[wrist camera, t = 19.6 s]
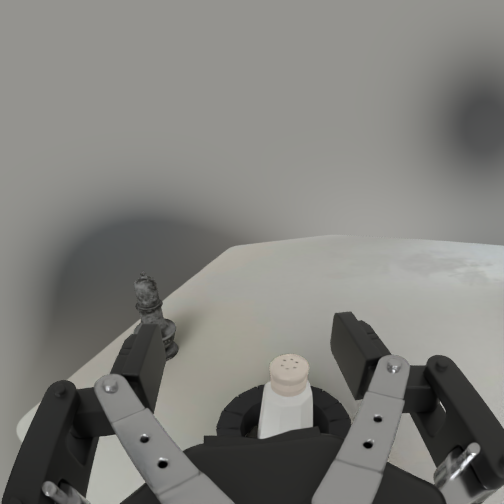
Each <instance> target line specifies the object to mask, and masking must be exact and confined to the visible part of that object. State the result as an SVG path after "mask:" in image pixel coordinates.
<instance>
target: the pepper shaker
mask: <svg viewBox="0 0 504 504" xmlns="http://www.w3.org/2000/svg"><path fill="white" fill-rule="evenodd" d="M309 368H310V366H309V363H308V362H307V360H306V359H304V358H303V357H301V356H299V355H295V354H284V355H280V356H278V357H276V358H275V359H273V360H272V361H271V363H270V365H269V370H270V381H269V382H268V383H266V384H265V386H264V391H263V398H262V405H261V412H260V419H259V426H258V433H257V439H265V438H268V437H271V436H275V435H278V434H281V433H284V432H287V431H290V430H295V429H302V428H309V427H313V396H312V391H311V387H310V383H309V381H307V378H308V373H309Z"/></svg>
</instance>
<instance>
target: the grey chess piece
mask: <svg viewBox="0 0 504 504" xmlns="http://www.w3.org/2000/svg"><path fill="white" fill-rule="evenodd" d="M145 274H146V273H145V272H144V271H142V272H141V275H142V276H141V277H140V278H139V279H137V280H136V281H135V284H134V287H135V292H136V297H137V302H138V303H137V304H136V309H137V310H139V313H140V317H141V323H140V324H139V325H138V326H137V327H136V328H135V329H134V334H138V331H139V329H140V327H141V325H142V324H143V323H158V324H159V326H160V330H161V334H162V339H163V343H164V348H165V353H166V361H167V360H169V359H171V358H173V357H174V356H175V355H176V354H177V352H178V346H177V344H176V343H175V342H173V340H174V336H175V331H176V325H175V323H174V322H172V321H171V320H169V319H165V318H164V317H163V314H162V309H161V306H162V305H163V302H162V301H161V300H160V299H159V296H158V291H157V285H156V282H155V280H154V279H153V278H151V277H148V276H145Z"/></svg>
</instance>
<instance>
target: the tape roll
mask: <svg viewBox="0 0 504 504" xmlns="http://www.w3.org/2000/svg"><path fill="white" fill-rule="evenodd" d="M264 386H265V385H259V386H258V388H257V387H254V388H252V389H250V390H248V391H246V392H244V393H242V394H240V395H238V396H239V397H237V396H236V397H235V398H234V399H233V400H232V401H231V402H230V403H229V404H228V405H227V406H226V407H225V408H224V411H222V413H221V416H220V419H219V421H218V424H217V429H216V431H217V436H222V435H235V436H242V437H245V436H246V435H247V434H248V432H249V431H250V430H251V429H252V428H253V427H254V426H256V425H258V424H259V419H260V412H261V405H262V398H263V391H264ZM310 387H311V391H312V396H313V427H315V426H318V427H319V430H320V433H323V434H331V435H336V436H339V437H342V438H346V436H347V434H348V432H349V430H350V428H351V419H349V418H350V417H349V415H348V414H347V412H346V410H345V409H344V407H343V406H342V404H341V403H339V401H338V400H337V399H335V398H334V397H333V396H331V395H330V394H328V393H327V392H325V391H322V389H319V388H316V387H313V386H310Z"/></svg>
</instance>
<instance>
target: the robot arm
mask: <svg viewBox="0 0 504 504" xmlns="http://www.w3.org/2000/svg"><path fill="white" fill-rule="evenodd" d="M330 344H331V351H332V354H333V356H334V358H335V360H336V362H337V364H338V366H339V368H340V370H341V372H342V374H343V376H344V378H345V380H346V382H347V384H348V386H349V389H350V391H351V393H352V395H353V397H354V399H355V400H360V399H363V401H362V403H361V405H360V408H359V410H358V412H357V414H356V417H355V419H354V421H353V423H352V426H351V428H350V430H349V432H348V434H347V436H346V438H342V437H339V436H336V435H331V434H323V433H320V430H319V427H318V426H315V427H309V428H302V429H295V430H290V431H287V432H284V433H281V434H278V435H275V436H271V437H268V438H265V439H257V438H249V437H242V436H235V435H222V436H204V443H203V444H199V445H196V446H193V447H190V448H188V449H186V450H184V451H182V450H181V449H180V448H179V447H178V446H177V444H176V443H175V442H174V441H173V440H172V438H171V437H170V436H169V435H168V433H167V432H166V431H165V430H164V428H163V427H162V426H161V424H160V423H159V422H158V420H157V419H156V418H155V416H154V415H153V414H154V410H155V405H156V401H157V396H158V392H159V388H160V383H161V379H162V375H163V371H164V367H165V362H166V353H165V348H164V343H163V339H162V334H161V330H160V326H159V324H158V323H143V324H142V325H141V327H140V329H139V331H138V334H131V335H130V336H129V337H128V338H127V339H126V340H125V341H124V343H123V345H122V349H121V350H120V352H119V355H118V356H117V358H116V361H115V363H114V365H113V367H112V370H111V372H110V374H108V375H105V376H103V377H101V378H100V379H98V380H97V381H96V383H95V385H94V387H92V388H85V389H76V387H75V385H74V384H73V383H72V382H70V381H67V380H61V381H57V382H55V383H53V384H52V385H51V386H50V387H49V388H48V389H47V392H46V393H45V395H44V397H43V399H42V401H41V403H40V405H39V407H38V410H37V412H36V414H35V416H34V418H33V420H32V422H31V425H30V427H29V429H28V431H27V434H26V436H25V438H24V441H23V443H22V445H21V448H20V450H19V453H18V455H17V458H16V460H15V463H14V466H13V468H12V471H11V474H10V477H9V480H8V483H7V485H6V488H5V492H4V495H3V498H2V504H91V503H90V502H89V501H88V500H87V499H86V493H87V488H88V483H89V478H90V474H91V469H92V465H93V460H94V456H95V452H96V448H97V444H98V440H99V437H100V436H108V435H115V434H116V435H117V437H118V439H119V440H120V442H121V444H122V446H123V447H124V449H125V451H126V452H127V454H128V456H129V457H130V459H131V461H132V462H133V464H134V465H135V467H136V468H137V470H138V471H139V473H140V474H141V476H142V477H143V479H144V480H145V482H146V483H144V484H143V485H142V486H141V487H140V488H138V489H137V490H136V491H135V492H134V493H132V494H131V495H130V496H129V497H127V498H126V499H125V500H124V501H122V502H121V503H120V504H481V503H483V502H484V501H485V500H486V499H488V498H489V497H490V496H491V495H492V494H494V493H495V492H496V491H497V490H498V489H499V488H501V487H502V486H503V485H504V429H503V427H502V426H501V424H500V423H499V421H498V420H497V419H496V417H495V416H494V414H493V413H492V411H491V410H490V409H489V407H488V406H487V405H486V403H485V402H484V400H483V399H482V398H481V396H480V395H479V394H478V392H477V391H476V390H475V388H474V387H473V386H472V385H471V383H470V382H469V381H468V379H467V378H466V377H465V376H464V374H463V373H462V372H461V370H460V369H459V368H458V367H457V366H456V364H455V363H454V362H453V361H452V360H451V359H450V358H448V357H446V356H442V355H435V356H432V357H430V358H429V359H428V361H427V364H426V366H411V365H409V363H408V361H407V360H406V359H404V358H402V357H400V356H397V355H392V354H391V353H390V352H389V350H388V349H387V348H386V346H385V345H384V344H383V342H382V341H381V340H380V339H379V337H378V336H377V334H376V333H375V332H374V330H373V329H372V328H371V326H370V325H368V324H367V323H365V322H364V321H362V320H361V321H358V320H357V319H356V317H355V316H354V315H353V313H352V312H342V313H335V315H334V319H333V326H332V334H331V342H330ZM440 401H441V403H442V405H443V406H444V408H445V410H446V413H445V411H444V409H443V408H442V406H441V405H440ZM402 413H410V415H411V417H412V419H413V421H414V423H415V425H416V427H417V429H418V431H419V433H420V435H421V437H422V439H423V441H424V443H425V445H426V447H427V449H428V451H429V453H430V455H431V457H432V459H433V461H434V463H435V465H436V467H437V469H436V470H435V473H434V483H435V484H434V485H433V484H431V483H429V482H427V481H425V480H423V479H421V478H418V477H416V476H414V475H412V474H410V473H408V472H406V471H404V470H402V469H400V468H398V467H396V466H394V465H392V464H390V463H388V462H387V460H388V457H389V454H390V451H391V448H392V445H393V442H394V439H395V435H396V432H397V429H398V425H399V422H400V418H401V414H402Z"/></svg>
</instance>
